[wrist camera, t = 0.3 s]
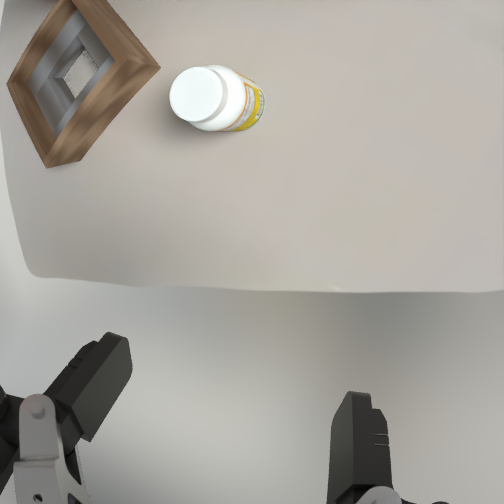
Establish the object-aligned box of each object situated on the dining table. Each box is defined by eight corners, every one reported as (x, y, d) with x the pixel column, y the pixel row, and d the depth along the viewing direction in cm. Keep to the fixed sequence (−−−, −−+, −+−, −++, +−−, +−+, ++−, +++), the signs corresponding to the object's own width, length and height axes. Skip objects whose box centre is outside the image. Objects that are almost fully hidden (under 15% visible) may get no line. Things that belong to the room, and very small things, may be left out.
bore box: (102, -4, 25) (70, -15, 20) (161, 67, 28) (127, 59, 22) (37, 83, 32) (6, 84, 27) (80, 160, 34) (46, 168, 29)
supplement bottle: (277, 111, 27) (248, 101, 18) (231, 141, 29) (185, 147, 20) (246, 67, 26) (204, 42, 17) (202, 99, 28) (148, 90, 19)
